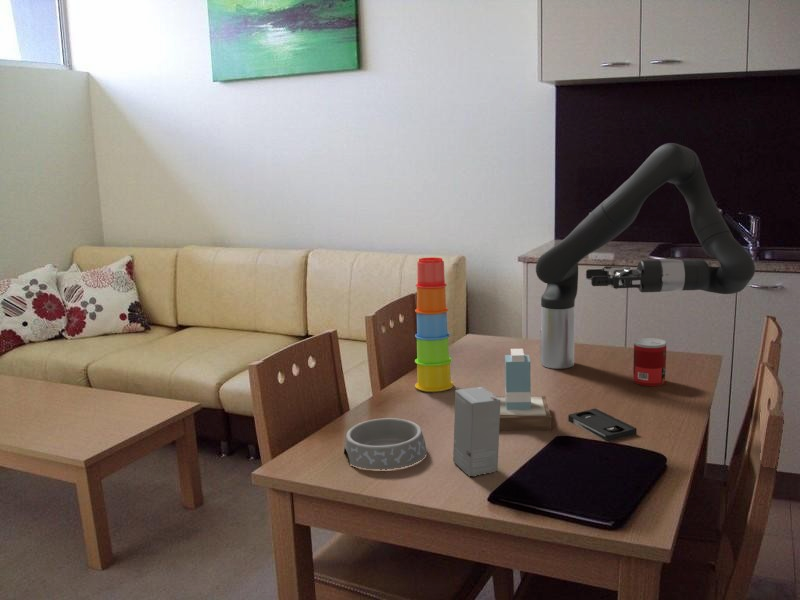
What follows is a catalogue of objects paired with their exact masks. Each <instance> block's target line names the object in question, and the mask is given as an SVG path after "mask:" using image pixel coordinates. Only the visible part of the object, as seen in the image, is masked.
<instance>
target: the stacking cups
mask: <svg viewBox="0 0 800 600" xmlns="http://www.w3.org/2000/svg"><path fill="white" fill-rule="evenodd" d="M416 272H417V274H416V275H417V276H416V277H417V280H416V281H417V283H416V284H415V287H416V309H414V312H415V313H416V332H417V333H415V335H414V337H415V339H416V357H417V358H416V359H414V363H415V364H416V371H417V372H416V373H417V375H416V376H417V377H416V379H417V382H416V383H415V385H414V387H415V388H416V389H417V390H419V391H422V392H432V393H435V392H443V391H444V392H445V391H448V390H450V389H452V388H453V387H454V382H453V381H452V380H451V378H452V376H451V363H452V362H453V360H452V357H450V349H449V346H450V345H449V337H450V335H451V334H450V333H449V330H448V315H447V314H448V312H449V308H448V307H447V300H446V299H447V298H446V287H447V285H448V284H447V283H445V282H446V281H445V280H446V279H445V261H444V260H443V258H442V257H422V258H418V261H417V271H416Z"/></svg>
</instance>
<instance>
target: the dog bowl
mask: <svg viewBox="0 0 800 600" xmlns="http://www.w3.org/2000/svg"><path fill="white" fill-rule="evenodd" d="M345 450H346V451H345ZM344 452H345V453H347V456H348V461H349V465H350V464H352V465H354V466H357V467H361V468H366V469H380V470H382V469H385V470H387V469H394V468H401V467H405V466H409V465H412V464H414V463H416V462H418V461H420V460H422V459H423V458H424V457H425V455H426V454H427V455H428V450H427V445H426V441H425V437H424V433H423V431H422V428H421V427H420V425H419V424H417V423H416V422H413V421H411V420H408V419H402V418H397V417H395V418H394V417H385V418H383V417H382V418H374V419H370V420H365V421H362V422H360V423H357V424H355V425H354V426H352V427H351V428H350V429H348V431H347V432H346V435H345V443H344V448H343V453H344Z"/></svg>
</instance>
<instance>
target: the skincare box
mask: <svg viewBox="0 0 800 600" xmlns="http://www.w3.org/2000/svg"><path fill="white" fill-rule="evenodd" d="M454 391H455V393H454V423H453V426H454V428H453V430H454V431H453V432H454V433H453V452H452V454H453V455H452V456H453V457H452V462H453V463H454V462H455V463H456V464H455V463H454V464H455V465H456V466H458V468H459V469H461V470H462V472H464V473H465V474H466V475H467V474H468V475H467V476H468V477H470V476H473V477H476V476H475V475H479V476H481V475H480V474H484V473H489V474H491V473H490V472H494V473H496V472H495V471H497V472H498V469H499V467H498V466H499V445H500V443H499V439H500V430H499V424H500V399H498V398H497V397H495V396H496V395H494V393H493V392H492V391H488V390H487V389H486V388H485V387H483V386H478V387H469V388H467V387H466V388H459V389H456V390H454ZM484 475H485V474H484Z"/></svg>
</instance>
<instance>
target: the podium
mask: <svg viewBox="0 0 800 600" xmlns="http://www.w3.org/2000/svg"><path fill="white" fill-rule="evenodd" d="M494 396H495V397H497V398H498V399H500V424H499V431H518V430H519V431H529V430H531V431H533V430H534V431H536V430H537V431H545V430H546V431H549V430H550V431H551V430H552V415H551V412H550V411H551V410H550V407H549V404H548V401H547V397H546V395H531V409H521V410H507V408H506V396H505V395H504V396H501V395H500V396H498V395H494Z"/></svg>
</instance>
